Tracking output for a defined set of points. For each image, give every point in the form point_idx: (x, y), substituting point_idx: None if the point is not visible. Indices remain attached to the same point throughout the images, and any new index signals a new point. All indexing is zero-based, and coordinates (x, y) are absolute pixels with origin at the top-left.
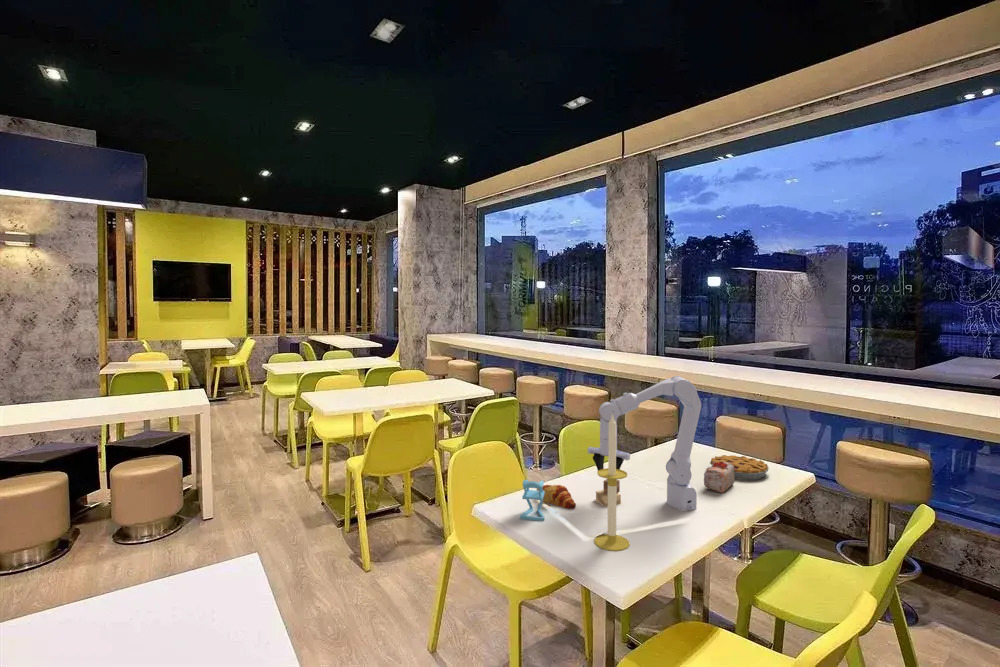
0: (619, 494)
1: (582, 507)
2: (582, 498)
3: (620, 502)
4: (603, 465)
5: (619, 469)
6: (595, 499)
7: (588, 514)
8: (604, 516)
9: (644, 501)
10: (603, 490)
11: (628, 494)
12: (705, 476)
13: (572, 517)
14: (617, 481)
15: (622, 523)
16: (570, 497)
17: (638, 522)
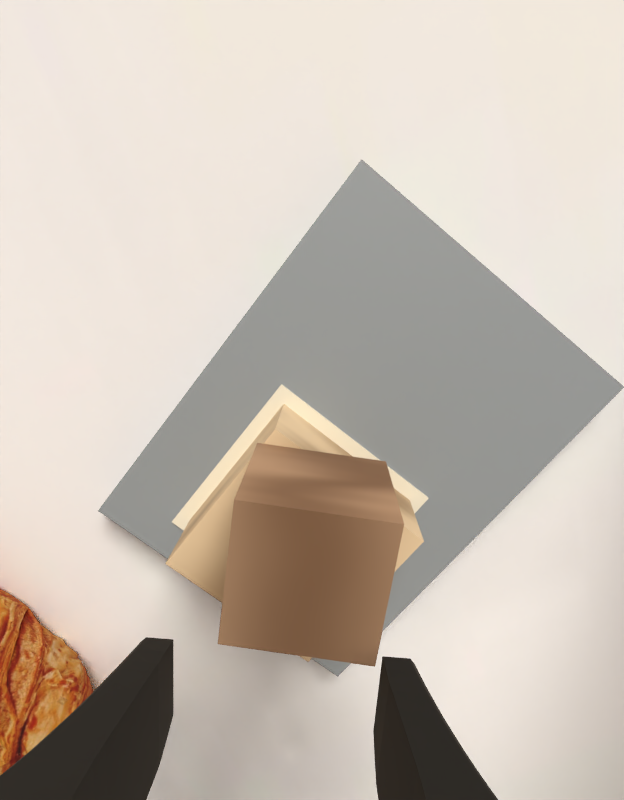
0: (408, 535)
1: (143, 618)
2: (52, 456)
3: (409, 505)
4: (98, 750)
5: (479, 784)
6: (182, 514)
7: (235, 704)
8: (345, 686)
9: (572, 239)
10: (222, 509)
11: (382, 126)
12: None
13: (165, 784)
14: (391, 581)
15: (491, 730)
16: (25, 715)
17: (591, 673)
